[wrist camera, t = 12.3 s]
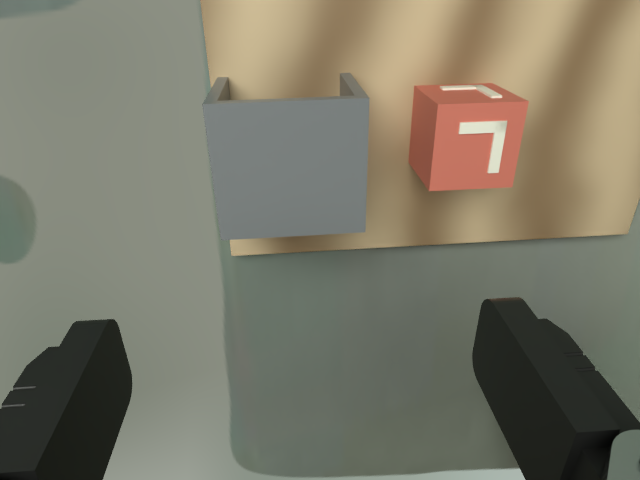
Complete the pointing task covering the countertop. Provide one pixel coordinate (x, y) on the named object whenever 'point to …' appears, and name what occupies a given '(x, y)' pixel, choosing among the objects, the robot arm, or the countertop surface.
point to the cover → (288, 162)
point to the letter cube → (466, 135)
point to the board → (455, 68)
